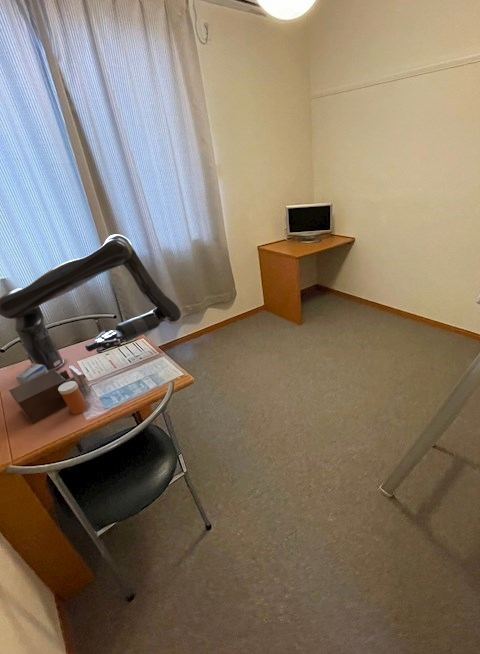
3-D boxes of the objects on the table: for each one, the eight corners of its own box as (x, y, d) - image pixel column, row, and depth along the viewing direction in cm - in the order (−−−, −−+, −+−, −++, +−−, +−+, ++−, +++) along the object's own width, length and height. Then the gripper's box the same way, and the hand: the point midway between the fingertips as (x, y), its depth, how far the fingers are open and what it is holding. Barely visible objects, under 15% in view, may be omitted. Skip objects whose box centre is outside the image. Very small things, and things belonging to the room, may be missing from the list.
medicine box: (36, 396, 119) (25, 377, 115) (26, 395, 120) (15, 376, 116) (54, 383, 126) (44, 364, 122) (45, 382, 127) (34, 363, 122)
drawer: (83, 379, 125) (75, 363, 122) (93, 388, 120) (86, 372, 116) (42, 399, 116) (32, 383, 113) (51, 409, 111) (42, 393, 107)
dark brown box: (65, 389, 122) (54, 369, 117) (76, 400, 116) (65, 379, 111) (22, 410, 113) (8, 390, 108) (32, 424, 107) (18, 402, 102)
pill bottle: (68, 410, 112) (55, 387, 107) (84, 401, 115) (72, 379, 110) (74, 416, 109) (61, 393, 104) (90, 407, 112) (79, 384, 107)
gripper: (121, 316, 132) (75, 334, 121) (138, 324, 125) (90, 345, 113) (127, 332, 136) (83, 352, 125) (144, 341, 129) (98, 363, 117)
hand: (86, 348), depth 119 cm, fingers closed
